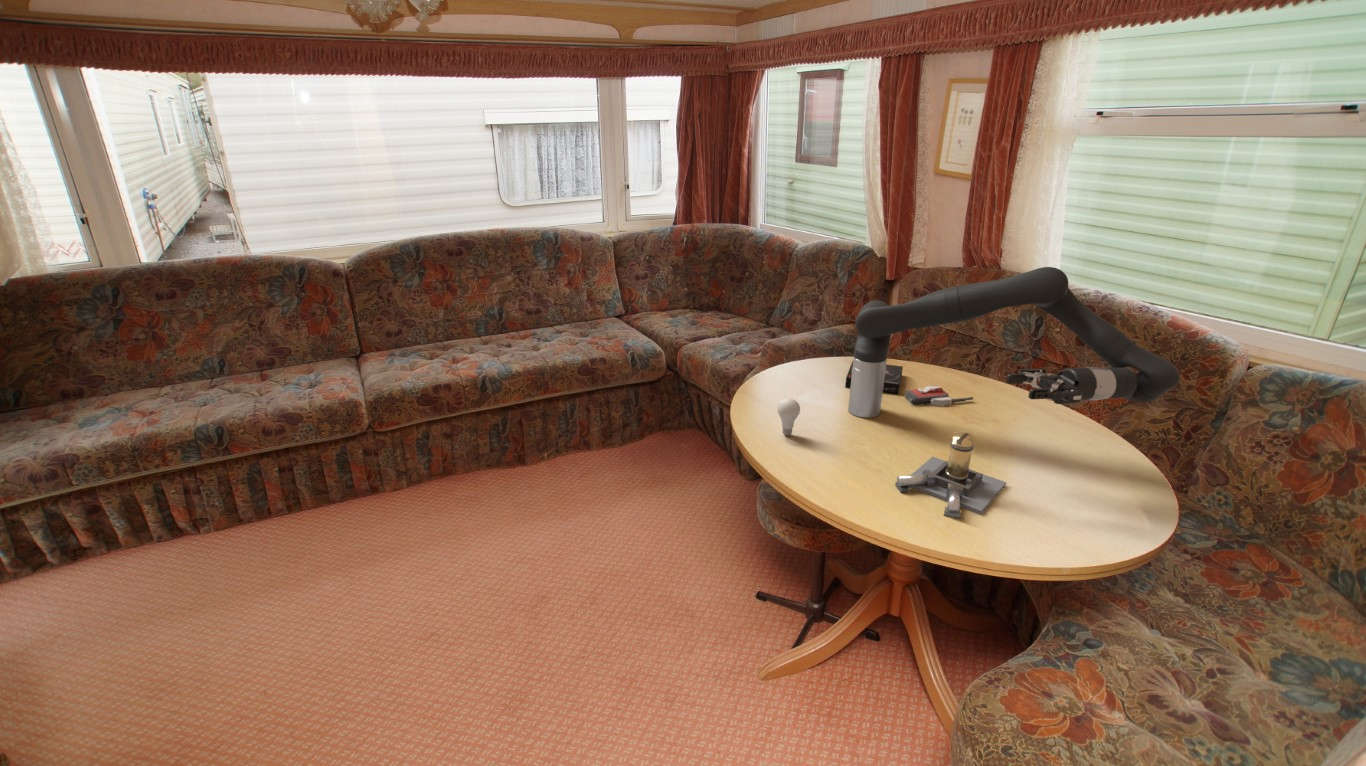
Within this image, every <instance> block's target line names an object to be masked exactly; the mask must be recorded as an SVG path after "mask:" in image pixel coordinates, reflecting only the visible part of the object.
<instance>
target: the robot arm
mask: <svg viewBox="0 0 1366 766" xmlns="http://www.w3.org/2000/svg"><path fill="white" fill-rule="evenodd" d="M1026 305H1033V306H1035V307H1037V308H1039V309H1041V310H1042V311H1044V312H1045V313H1047V314H1048V315H1050V316H1051V317H1053V318H1055V319H1056V320H1058V321H1059V322H1060V323H1062V324H1063V325H1065V327H1066V328H1068V329H1069V330H1070V331H1072V332H1073V334H1075V335H1076V336H1077V337H1078V338H1079V339H1080V340H1082V342H1083V343H1084V344H1085V345H1086V346H1087V347H1088V348H1090V349H1091V350H1092V351H1093V352H1094V353H1095V354H1096V355H1097V356H1098V357H1100V358H1101V360H1103V361H1104V362H1106V364H1107V365H1108V366H1110V367H1095V366H1091V367H1067V368H1064V369H1062V370H1061V371H1060V372H1059V373H1057V374H1056V373H1051V372H1050V373H1047V369H1046V368H1021V369H1020V372H1019V373H1008V374H1007V375H1006V380H1005V381H1006V383H1007V384H1008V385H1017V384H1026V385H1030V386H1031V387H1032V389H1029V391H1028V397H1027V398H1028V399H1030V400H1046V401H1053V403H1054V404H1056V405H1065V404H1067V405H1068V404H1078V403H1081V402H1085V401H1086V402H1087V401H1099V400H1105V399H1106V400H1107V399H1124V400H1127V401H1132V402H1137V403H1148V402H1153V401H1156V400H1157V399H1159V398H1161V397H1162V396H1164V395H1165V394H1166V393H1168V392H1170V391H1171V390H1172V389H1174V388H1175V387H1177V386H1178V385H1179V383H1180V382H1181V374H1180V371H1179V370H1178V368H1177V367H1176V366H1175V365H1174V364H1172V363H1171V362H1170V361H1169V360H1167V359H1165V358H1163V357H1161V356H1159V355H1156V354H1155V353H1153V352H1150V351H1149V350H1147V349H1145V348H1143V347H1141V346H1139V345H1137V343H1135V341H1133V340H1132V339H1130V338H1129V337H1128V336H1127V335H1126V334H1125V333H1124V332H1122V331H1121V330H1120V329H1118V327H1116V326H1115V325H1114V324H1112V323H1110V322H1109V321H1107V320H1106V319H1104V318H1103V317H1102V316H1100V315H1098V314H1097V313H1095V312H1094V311H1092V310H1091V308H1088V307H1087V305H1085V304H1084V303H1083V302H1081V300H1080V299H1078V298H1077V296H1076V294H1074V293H1073V292H1072V290H1071V289H1070V288H1069V278H1068V276H1067V275H1066V273H1065V272H1064V271H1063V270H1061V269H1059V268H1057V267H1053V266H1044V267H1039V268H1036V269H1032V270H1029V271H1025V272H1023V273H1019V274H1016V275H1013V276H1009V277H1005V278H1002V279H1001V278H1000V279H995V280H988V281H980V282H974V283H969V284H963V285H958V286H953V287H947V288H943V289H940V290H935V291H933V292H929V293H928V294H925V295H923V296H920V297H918V298H915V299H913V300H911V301H908V302H903V303H900V304H895V305H889V304H888V303H886V302H885V301H883V300H878V299H877V300H870V301H869V302H867V303H865V304H864V305H863V306H862V307H861V309H860V311H859V312H858V314H857V316H856V319H855V329H856V331H857V335H856V336H857V337H856V340H855V344H854V345H855V346H854V349H853V350H854V351H853V360H852V361H853V368H852V377H851V387H850V388H849V397H848V398H849V399H848V404H847V405H848V406H847V411H848V412H849V413H850V414H851V415H854V416H856V417H859V418H860V417H861V418H864V419H865V418H867V419H869V418H876V417H878V416H879V415H880V414H881V409H882V400H883V394H884V393H883V386H884V378H885V370H886V364H887V361H888V354H889V349H890V348H889V347H890V346H891V345H890V343H891V338H892V337H891V336H892V335H893V334H896V333H900V332H904V331H907V330H909V331H910V330H914V329H921V328H929V327H930V328H931V327H934V326H935V327H936V326H940V325H941V326H943V325H948V324H949V325H950V324H953V323H960V322H965V321H971V320H973V319H976V318H981V317H983V316H986V315H988V314H990V313H993V312H996V311H999V310H1002V309H1006V308H1009V307H1010V308H1011V307H1016V306H1017V307H1018V306H1026ZM1128 367H1131V368H1133V369H1135V370H1137V372H1136V373H1135V372H1134V371H1133V370H1131V369H1129V368H1128ZM1037 381H1039V383H1037Z"/></svg>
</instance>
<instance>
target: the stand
mask: <svg viewBox="0 0 1366 766" xmlns="http://www.w3.org/2000/svg"><path fill="white" fill-rule="evenodd" d="M947 465H948V460H945V459H944V460H943V459H941V458H939V457H935V456H931V457H930V458H929V459H927V460H926V461H925V462H924V463H923V464H922V465H921V466H919V468H917V469H916V470H915V471H914V472H913V473H912V474H911V475H922V474H923V470H930V471H931V472H932V473H933V474H934V476H935V477H936V479H935V485H934V487H927V486H926V485H913V486H908V487H909V488H912V489H913V490H916V491H919V492H921V493H923V494H927V495H930V496H931V497H934V498H937V499H939V500H941V501H944V502H947V503H948V497H946V493H947V488H948V483H951V484H956V485H961V486H963V493H962V499H961V500H960V507H959V508H962V509H964V510H967V511H970V512H972V513H975V514H978V515H980V516H981V514H983V512H984V511H985V510H986V509H987V508H988V507H989V506H990V504H992V502H993V501H994V500H995V499H996V498H997V497H998V495H999V494H1000V493H1001V492H1002V491H1003V490H1004V489H1005V488H1006V486H1007V481H1004V480H1001V479H999V478H995V477H993V476H990V475H987V474H984V473H981V472H979V471H976V470H973V469H968V479H967V481H966V484H965V485H962V484H959V483H956V482H954V481H951V480H948V479H946V478H945V471H946V468H947ZM1005 485H1006V486H1005ZM1003 488H1004V489H1003ZM1002 489H1003V490H1002ZM1001 490H1002V491H1001ZM1000 491H1001V492H1000ZM999 492H1000V493H999ZM995 497H996V498H995ZM994 498H995V499H994ZM993 499H994V500H993ZM988 505H989V506H988Z"/></svg>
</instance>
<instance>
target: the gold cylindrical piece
mask: <svg viewBox="0 0 1366 766" xmlns="http://www.w3.org/2000/svg"><path fill="white" fill-rule="evenodd" d="M949 445H950V448H949V454H948V460H947V462H948V465H947V468H946V471H945V478H946V479H948V480H951V481H954V482H956V483H959V484H962V485H965V484H966V481H967V479H968V469H969V468H970V464H971V459H972V457H971V456H972V453H973V450H974V448H975V437H974V436H973V435H972V434H971V433H968V432H963V431H957V432H954V433H953V434H952V437H951V438H950V444H949Z"/></svg>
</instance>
